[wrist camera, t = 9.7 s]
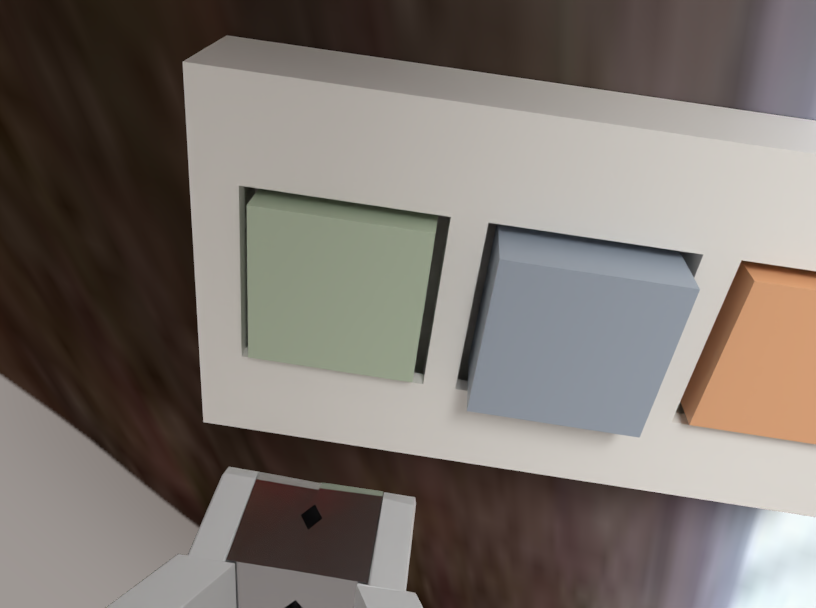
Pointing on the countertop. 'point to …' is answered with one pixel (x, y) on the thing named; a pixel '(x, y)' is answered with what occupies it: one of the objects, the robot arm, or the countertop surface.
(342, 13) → the countertop surface
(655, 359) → the key slate
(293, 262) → the key sage
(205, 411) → the keypad
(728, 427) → the key terracotta
